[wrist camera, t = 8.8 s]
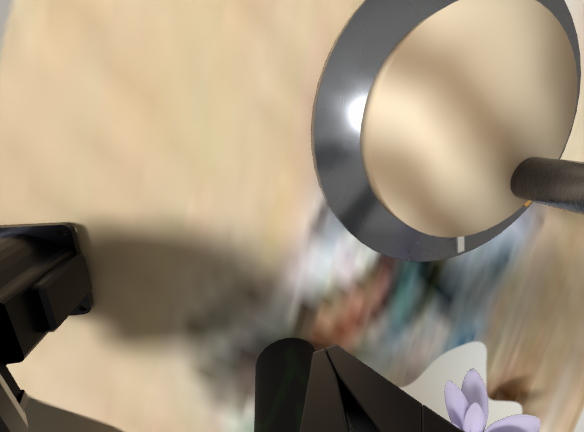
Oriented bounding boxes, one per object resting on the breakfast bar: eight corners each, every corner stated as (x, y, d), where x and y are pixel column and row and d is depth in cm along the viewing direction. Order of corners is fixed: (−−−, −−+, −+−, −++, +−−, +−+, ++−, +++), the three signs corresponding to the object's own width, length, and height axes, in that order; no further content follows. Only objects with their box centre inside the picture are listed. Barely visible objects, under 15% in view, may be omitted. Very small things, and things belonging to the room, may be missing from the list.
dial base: (341, 289, 23) (345, 296, 22) (275, -9, 16) (278, -18, 15) (554, 215, 25) (567, 219, 24) (585, -78, 18) (605, -89, 17)
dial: (458, 259, 23) (662, 383, 12) (316, 165, 18) (443, 228, 7) (585, 99, 21) (987, 71, 10) (462, -62, 16) (995, -494, 5)
